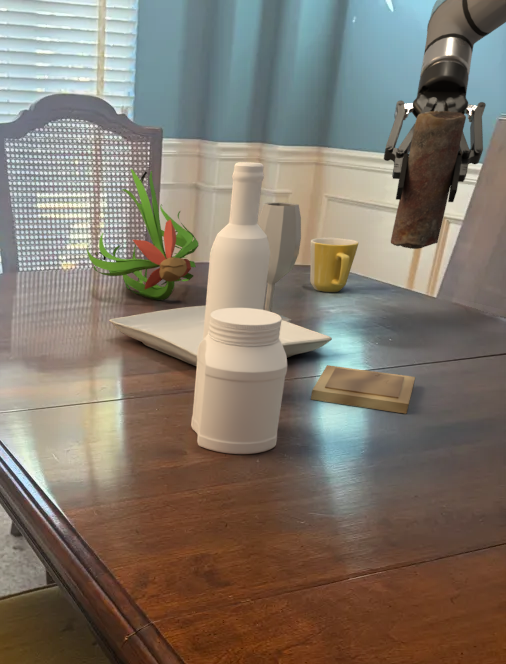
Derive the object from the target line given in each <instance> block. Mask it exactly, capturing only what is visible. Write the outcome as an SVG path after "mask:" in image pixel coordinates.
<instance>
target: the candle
mask: <svg viewBox="0 0 506 664" xmlns="http://www.w3.org/2000/svg"><path fill="white" fill-rule="evenodd" d="M466 120H467V116H466V114H462V113H458V112H448V111H441V112H438V111H430V112H425V113H421V114H419V115H418V116H417V119H416V118H415V122H416V123H415V122H414V124H415V128H414V132H413V137H412V142H411V148H410V152H409V153H408V154H409V156H408V162H407V168H406V174H405V180H404V186H403V191H402V196H401V200H398V205H397V210H396V214H395V219H394V224H393V228H392V232H391V233H392V234H391V238H390V244H391V245H393V246H396V247H402V248H406V249H410V250H412V249H413V250H420V249H422V248H423V249H424V248H425V247H428V246H429V247H430V246H432V245H436V244H438V242H439V238H440V234H441V229H442V225H443V221H444V216H445V212H446V207H447V202H448V199H449V193H450V186H451V181H452V176H453V171H454V167H455V163H456V158H457V154H458V150H459V146H460V141H461V136H462V132H463V133H464V127H465V123H466Z"/></svg>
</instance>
